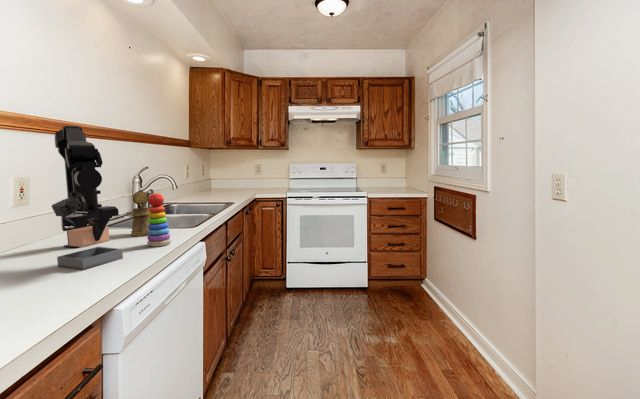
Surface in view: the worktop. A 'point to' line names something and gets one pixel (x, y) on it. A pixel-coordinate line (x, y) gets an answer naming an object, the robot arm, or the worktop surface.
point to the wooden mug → (140, 215)
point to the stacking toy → (157, 222)
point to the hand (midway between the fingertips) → (89, 240)
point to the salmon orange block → (86, 237)
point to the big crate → (89, 258)
